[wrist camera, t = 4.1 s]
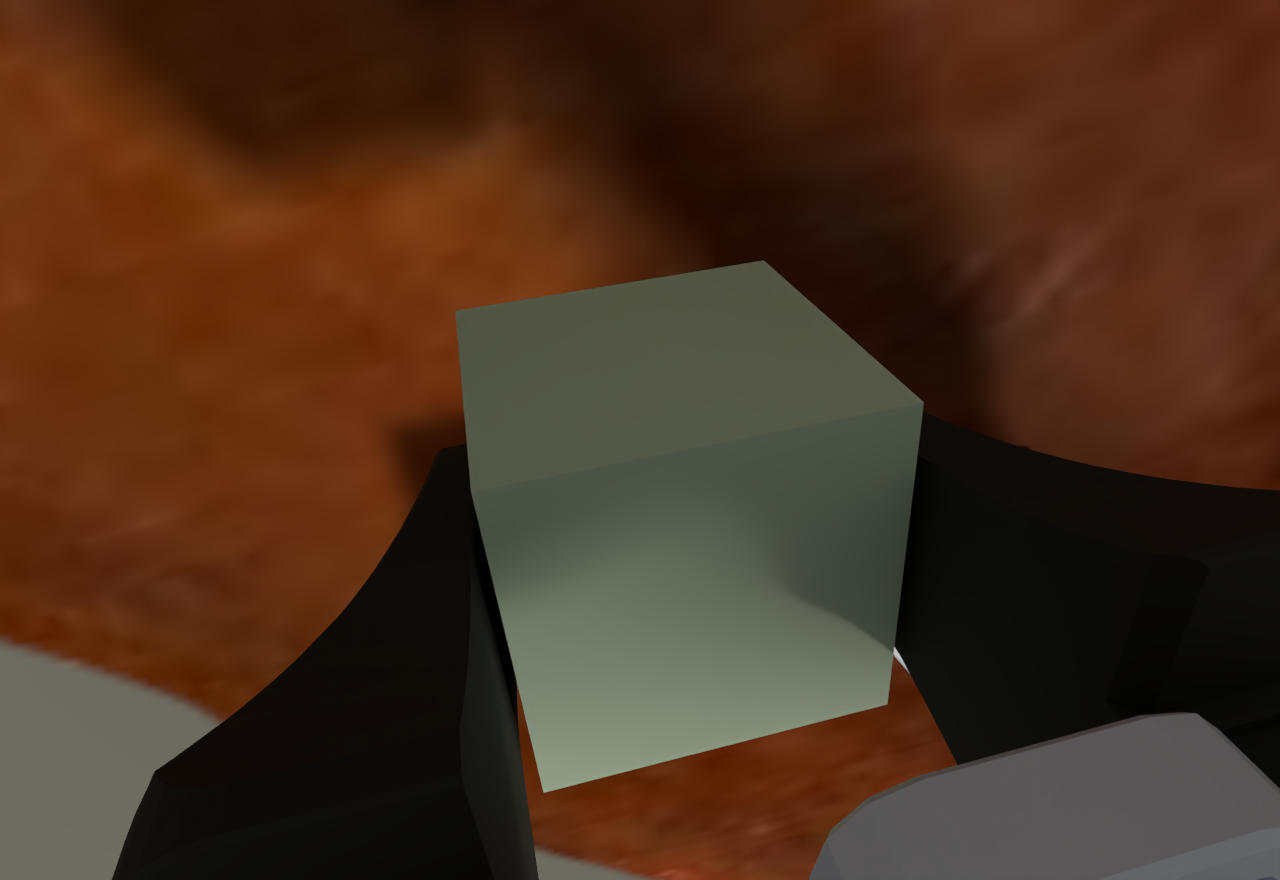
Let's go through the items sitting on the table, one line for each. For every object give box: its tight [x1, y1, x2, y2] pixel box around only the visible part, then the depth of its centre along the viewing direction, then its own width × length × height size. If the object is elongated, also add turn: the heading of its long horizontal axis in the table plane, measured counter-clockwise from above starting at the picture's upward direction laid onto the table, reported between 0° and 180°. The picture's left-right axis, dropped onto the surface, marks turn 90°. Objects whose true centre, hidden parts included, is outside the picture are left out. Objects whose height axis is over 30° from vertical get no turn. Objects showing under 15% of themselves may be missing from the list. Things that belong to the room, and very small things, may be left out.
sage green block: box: [455, 260, 924, 792], centre depth 12 cm, size 5×5×5 cm
